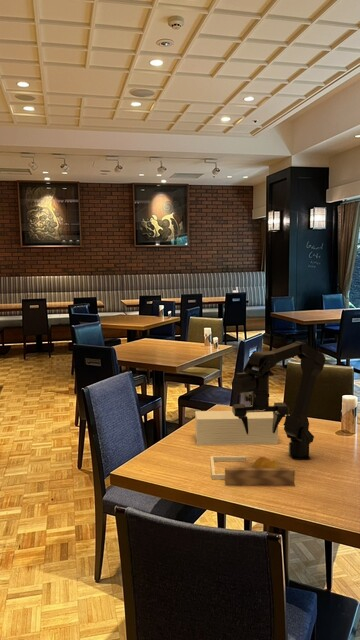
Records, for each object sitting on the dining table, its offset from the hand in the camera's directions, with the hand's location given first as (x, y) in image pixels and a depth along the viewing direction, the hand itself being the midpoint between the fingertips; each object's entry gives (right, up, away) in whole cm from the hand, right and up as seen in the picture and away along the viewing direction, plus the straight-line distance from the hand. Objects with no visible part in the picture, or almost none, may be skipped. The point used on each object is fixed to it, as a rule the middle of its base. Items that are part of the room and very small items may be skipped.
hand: (260, 433), depth 166 cm
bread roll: (+2, -13, -1) cm, 13 cm away
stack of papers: (-5, -10, +28) cm, 31 cm away
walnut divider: (-2, -14, -12) cm, 18 cm away
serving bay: (-10, -12, 0) cm, 16 cm away
